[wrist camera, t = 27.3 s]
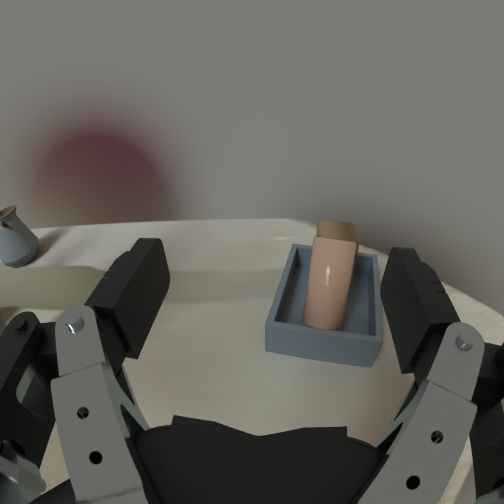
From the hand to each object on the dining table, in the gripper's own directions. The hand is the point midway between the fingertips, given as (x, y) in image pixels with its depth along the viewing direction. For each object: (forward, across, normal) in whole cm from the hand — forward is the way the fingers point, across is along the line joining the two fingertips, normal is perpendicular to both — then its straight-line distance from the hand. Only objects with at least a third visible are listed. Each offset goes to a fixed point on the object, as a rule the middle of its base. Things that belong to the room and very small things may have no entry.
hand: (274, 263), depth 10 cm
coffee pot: (+28, +56, +25) cm, 67 cm away
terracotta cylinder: (+16, -6, +20) cm, 27 cm away
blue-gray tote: (+22, -7, +24) cm, 34 cm away
